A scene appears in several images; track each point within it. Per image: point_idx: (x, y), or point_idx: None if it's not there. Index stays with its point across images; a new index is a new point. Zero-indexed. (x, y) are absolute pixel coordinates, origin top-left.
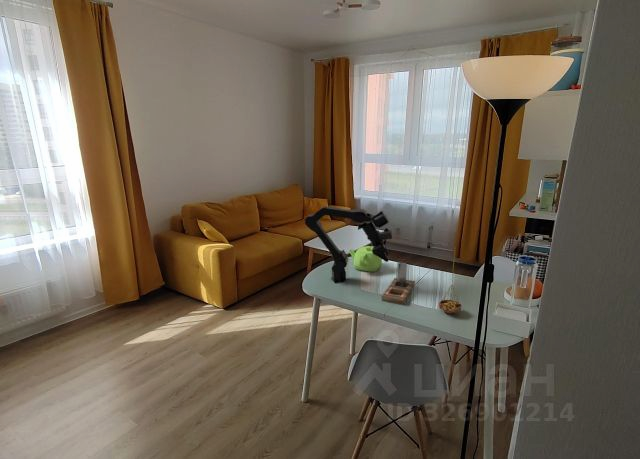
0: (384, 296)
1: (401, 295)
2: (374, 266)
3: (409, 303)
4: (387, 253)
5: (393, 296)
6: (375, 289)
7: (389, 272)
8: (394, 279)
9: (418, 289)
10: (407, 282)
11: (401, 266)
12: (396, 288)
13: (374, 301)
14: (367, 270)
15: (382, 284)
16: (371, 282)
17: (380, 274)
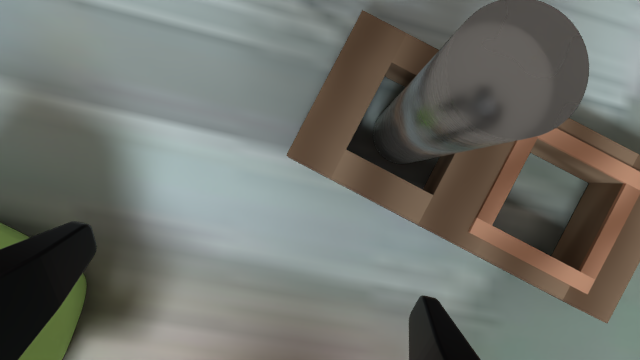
0: (615, 304)
1: (620, 178)
2: None
3: (620, 134)
4: (64, 254)
5: (625, 240)
6: (398, 319)
7: (93, 157)
8: (314, 165)
9: (415, 17)
10: (381, 74)
11: (568, 104)
12: (495, 188)
13: (581, 356)
14: (69, 341)
15: (316, 254)
16: (276, 329)
17: (128, 235)
